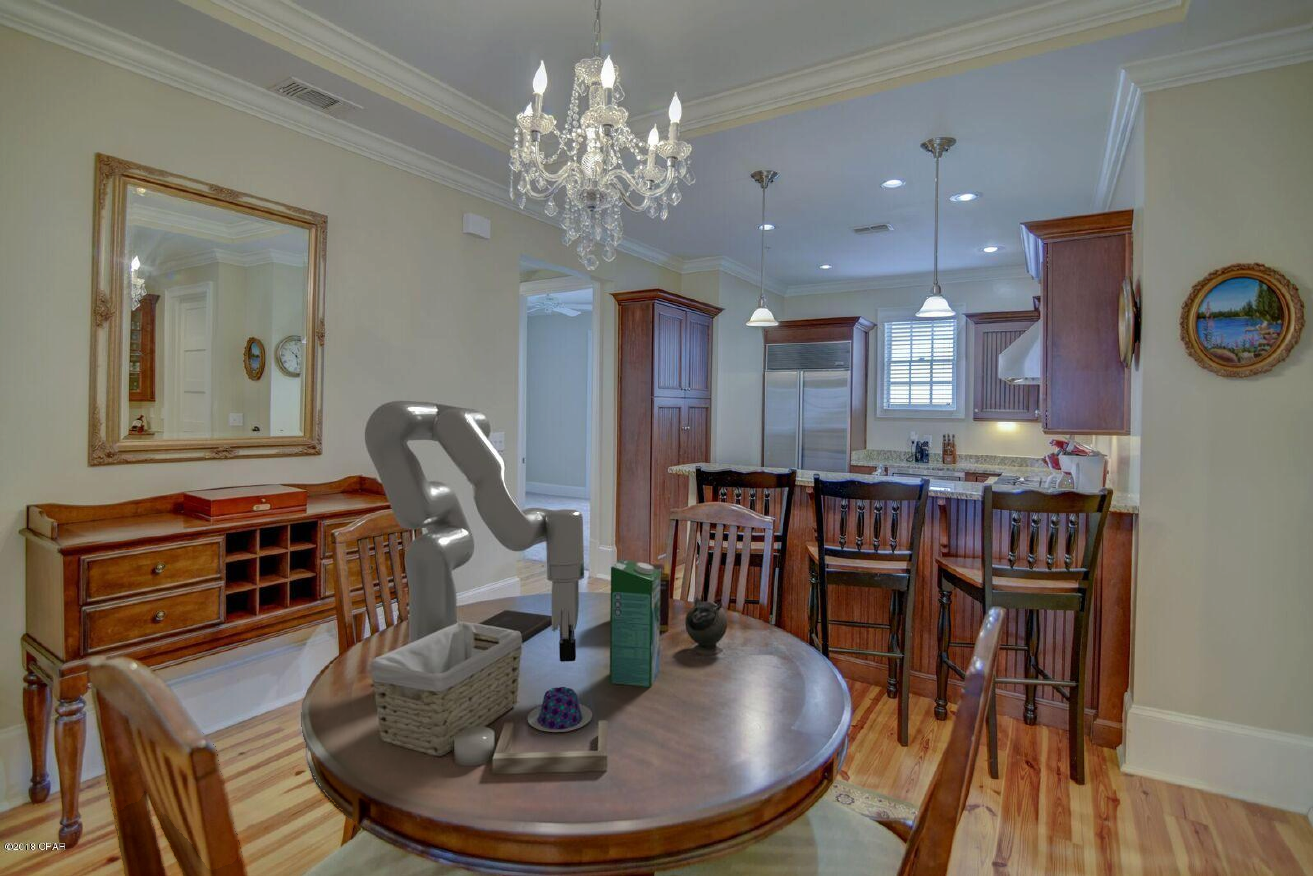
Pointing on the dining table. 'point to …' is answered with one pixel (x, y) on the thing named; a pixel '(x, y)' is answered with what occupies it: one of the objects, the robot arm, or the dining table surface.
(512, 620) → the hardcover book
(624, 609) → the milk carton
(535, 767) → the display stand
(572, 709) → the pudding
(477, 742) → the egg
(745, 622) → the dining table surface
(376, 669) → the storage basket
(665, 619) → the supplement box
